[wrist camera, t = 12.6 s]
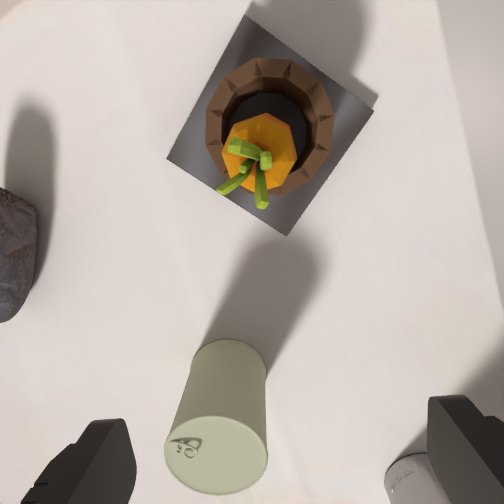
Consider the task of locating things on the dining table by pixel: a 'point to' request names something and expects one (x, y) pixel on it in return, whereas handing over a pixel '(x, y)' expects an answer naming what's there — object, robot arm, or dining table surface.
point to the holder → (278, 105)
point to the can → (220, 421)
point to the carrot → (258, 156)
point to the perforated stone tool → (16, 252)
